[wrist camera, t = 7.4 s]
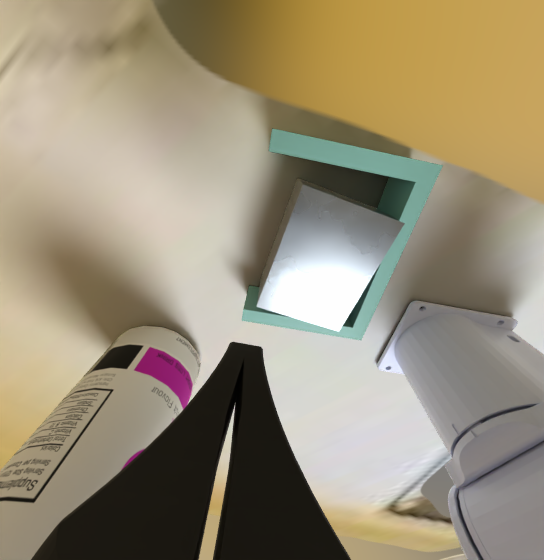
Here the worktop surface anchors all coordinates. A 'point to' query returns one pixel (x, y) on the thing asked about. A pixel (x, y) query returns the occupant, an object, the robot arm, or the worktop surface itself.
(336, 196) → the block
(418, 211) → the dock
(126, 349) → the supplement can
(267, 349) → the worktop surface
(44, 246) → the worktop surface
